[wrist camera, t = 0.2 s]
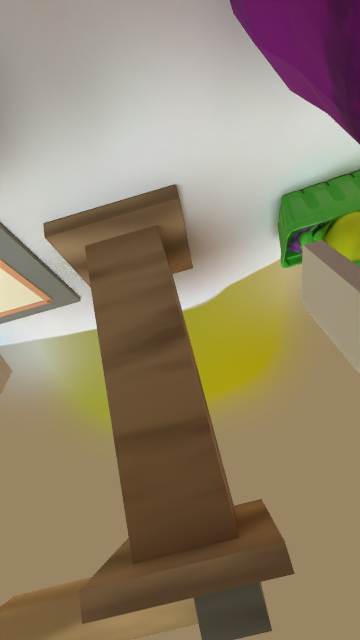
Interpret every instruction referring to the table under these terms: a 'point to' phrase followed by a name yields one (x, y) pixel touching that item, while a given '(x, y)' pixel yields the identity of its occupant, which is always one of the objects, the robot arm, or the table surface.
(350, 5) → the decorative plant
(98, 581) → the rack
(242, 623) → the wooden handled hammer
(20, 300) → the pad
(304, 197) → the fruit basket
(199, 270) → the table surface
